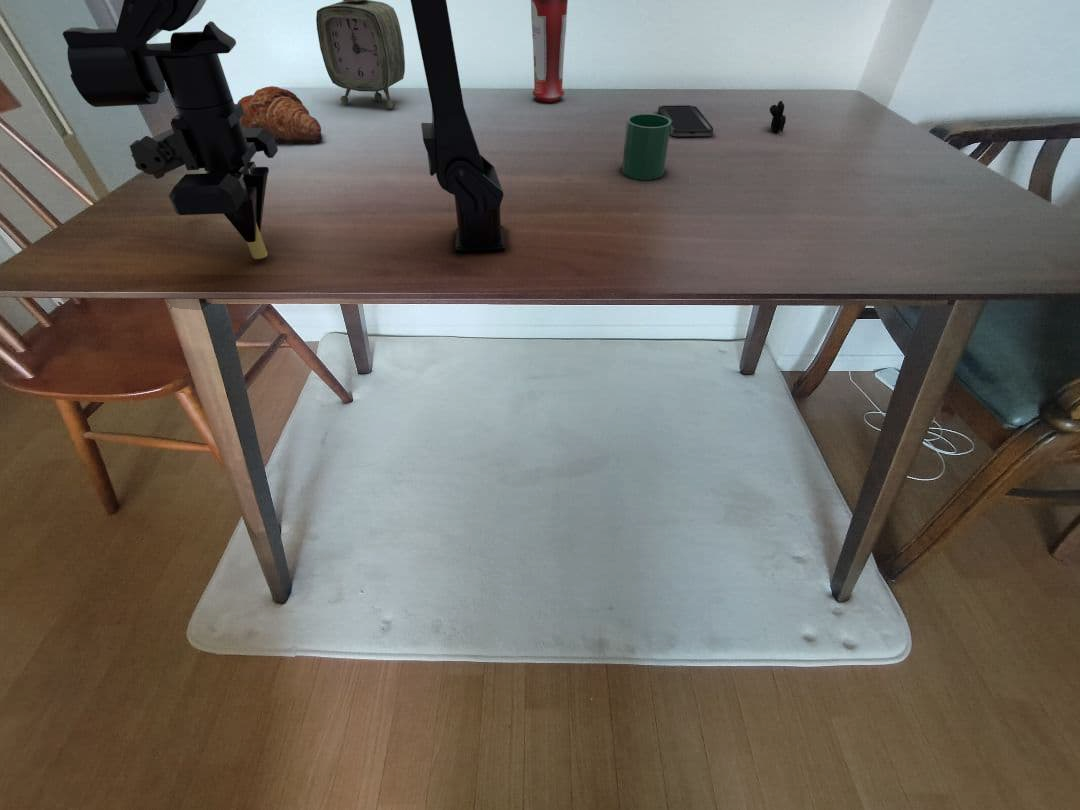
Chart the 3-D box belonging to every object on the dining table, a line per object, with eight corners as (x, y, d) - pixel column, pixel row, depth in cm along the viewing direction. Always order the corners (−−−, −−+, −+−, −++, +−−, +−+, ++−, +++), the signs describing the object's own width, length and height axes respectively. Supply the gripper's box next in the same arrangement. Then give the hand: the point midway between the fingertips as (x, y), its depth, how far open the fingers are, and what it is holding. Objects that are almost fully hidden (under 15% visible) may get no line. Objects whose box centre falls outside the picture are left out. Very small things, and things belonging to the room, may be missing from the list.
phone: (695, 105, 118) (714, 130, 107) (694, 111, 118) (713, 136, 108) (657, 105, 117) (672, 130, 106) (656, 111, 118) (671, 136, 107)
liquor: (527, 96, 126) (525, -69, 107) (558, 93, 128) (562, -70, 109) (537, 105, 121) (536, -66, 102) (569, 102, 123) (575, -67, 104)
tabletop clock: (333, 106, 121) (299, -45, 103) (355, 94, 127) (327, -50, 110) (395, 113, 118) (371, -42, 100) (415, 100, 124) (395, -47, 107)
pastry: (224, 153, 101) (206, 103, 96) (232, 125, 112) (216, 79, 106) (323, 143, 105) (311, 95, 99) (322, 117, 115) (311, 72, 110)
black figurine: (782, 137, 108) (790, 108, 104) (769, 136, 108) (776, 107, 104) (775, 125, 113) (782, 96, 109) (762, 124, 113) (769, 96, 109)
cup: (667, 179, 93) (676, 127, 88) (626, 180, 93) (632, 128, 87) (658, 163, 98) (665, 113, 93) (618, 164, 98) (623, 114, 92)
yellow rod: (265, 258, 73) (240, 189, 67) (251, 259, 73) (224, 189, 67) (269, 251, 74) (244, 182, 68) (255, 252, 74) (229, 183, 68)
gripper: (159, 78, 67) (211, 207, 78) (80, 133, 54) (156, 279, 65) (257, 76, 68) (295, 204, 79) (203, 130, 55) (258, 275, 65)
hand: (253, 237), depth 72 cm, fingers closed on yellow rod, 2 cm apart
